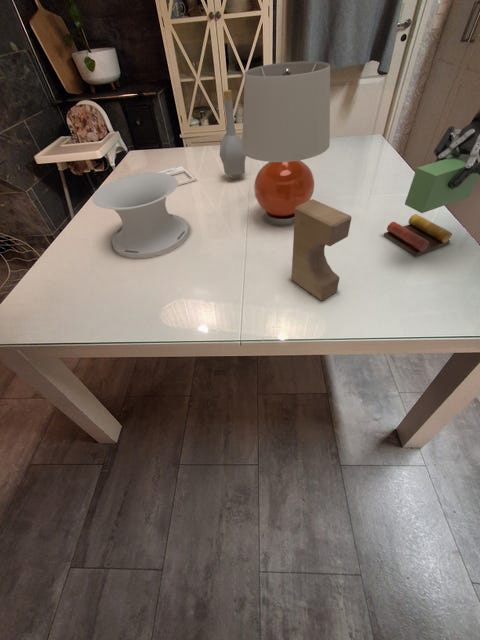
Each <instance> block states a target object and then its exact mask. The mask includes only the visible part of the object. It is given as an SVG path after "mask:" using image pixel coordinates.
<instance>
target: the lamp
mask: <svg viewBox="0 0 480 640" xmlns="http://www.w3.org/2000/svg"><path fill="white" fill-rule="evenodd" d="M243 82H244V83H243V84H244V85H243V89H244V90H243V109H242V111H243V113H242V135H241V136H242V139H241V140H242V152H243V154H244V155H246V158H250V159H251V160H256V161H260V162H267V163H265V164H264V165H263V166H262V167H261V168H260V169H259V171H258V172H257V175H256V177H255V180H254V186H253V191H254V196H255V199H256V202H257V203H258V205H259V206H260V208H261V209H262V210H263V211H264V212H265V220H266V222H267V223H269V224H271V225H274V226H279V227H280V226H281V227H283V226H285V227H286V226H292V225H294V219H295V207H296V206H299V205H301V204H303V203H305V202H307V201H310V200H312V197H313V195H314V191H315V179H314V174H313V171H312V170H311V168H310V166H308V165H307V164H306V163H305V162H303V160H304V161H305V160H309V159H311V158H316V157H317V156H319V155H322V154H324V153H325V152H327V151H328V149H329V148H330V144H331V143H330V142H331V141H330V135H331V133H330V128H331V124H330V123H331V117H330V116H331V64H330V63H329V62H326V61H316V60H315V61H311V60H309V61H307V60H304V61H301V60H300V61H286V62H279V63H278V62H277V63H270V64H264V65H260V66H256V67H253V68H249V69H247V70H246V71H245V72H244V81H243Z"/></svg>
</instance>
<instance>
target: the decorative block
mask: <svg viewBox="0 0 480 640" xmlns="http://www.w3.org/2000/svg"><path fill="white" fill-rule="evenodd" d="M351 223H352V215H350V214H348V213H346V212H343V211H341V210H339V209H336V208H334V207H332V206H329V205H327V204H326V203H322V202H321V201H318V200H316V199H314V198H313V199H312V198H311V199H310V201H307V202H305V203H303V204H301V205H299V206H296V207H295V219H294V224H293V242H292V260H291V262H292V263H291V278H290V279H291V281H293V283H296V284H297V285H298V286H300V287H301V288H302V289H304V290H305V291H306V292H308V293H310V295H313V296H314V297H316V298H317V299H319V301H320V302H321V301H324V300H326V299H328V298H329V297H331V296H332V295H334V294H335V293H337V292H338V288H339V284H340V283H339V282H340V276H339V275H338V274H337V273H336V272H335V271H333V269H332V268H331V267H330V265H329V263H328V261H327V258H326V255H325V247H326V246H328V247H331V246H333V245H336V244H338V243H339V242H341V241H343V240H344V239H346V238H348V236H349V232H350V228H351Z"/></svg>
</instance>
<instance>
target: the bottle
mask: <svg viewBox="0 0 480 640" xmlns="http://www.w3.org/2000/svg"><path fill="white" fill-rule="evenodd" d="M222 92H223V104H224V110H225V111H224V112H225V121H226V122H225V123H226V133H225V134H224V136H223V137H222V139H221V141H220V146H219V158H220V160H221V163H222V166H223V172H224V173H225V174H226V175H227V176H229V177H230V178H232V179H233V180H237V179H239V178H240V177H241V176H243V174H244V173H245V172H246V158H247V156H246V155H244V154H243V152H242V139H241V137H240V136H239V135H238V134H237V132H236V128H235V119H234V109H233V108H234V106H233V102H234V101H233V97H232V89H226V90H225V89H224V90H223V91H222Z"/></svg>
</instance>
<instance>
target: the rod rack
mask: <svg viewBox="0 0 480 640" xmlns="http://www.w3.org/2000/svg"><path fill="white" fill-rule="evenodd" d="M383 237H384V238H386V239H387V240H389V241H390V242H392V243H394V244H395V245H396V246H398V247H400V248H401V249H403V250H404V251H406V252H408V253H409V254H411V255H412V256H414V257H416V256H417V257H418V256H421V255H423V254H426V253H428V252H430V251H433V250H436V249H439V248H441V247H444V246H447V245H449V244H450V242H451V238H452V237H453V232H452V231H450V230H448V229H446V228H444V227H441V226H439V225H438V224H436V223H434V222H432V221H431V220H428V219H426V218H424V217H422V216H420V215H418V214H417V213H415V214H412V215H411V216H410V217H409V218H408V224H406V225H402V224H399V223H398V222H396V221H391V222H389V224H387V227H386V232H384V233H383Z"/></svg>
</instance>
